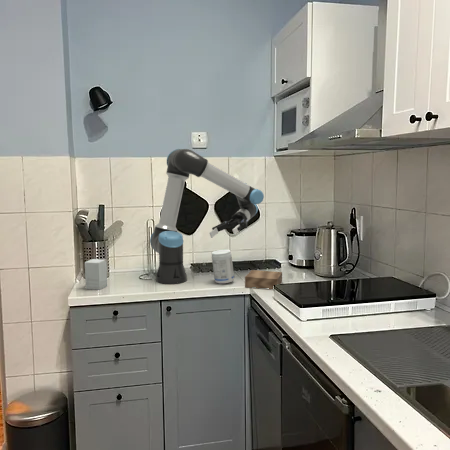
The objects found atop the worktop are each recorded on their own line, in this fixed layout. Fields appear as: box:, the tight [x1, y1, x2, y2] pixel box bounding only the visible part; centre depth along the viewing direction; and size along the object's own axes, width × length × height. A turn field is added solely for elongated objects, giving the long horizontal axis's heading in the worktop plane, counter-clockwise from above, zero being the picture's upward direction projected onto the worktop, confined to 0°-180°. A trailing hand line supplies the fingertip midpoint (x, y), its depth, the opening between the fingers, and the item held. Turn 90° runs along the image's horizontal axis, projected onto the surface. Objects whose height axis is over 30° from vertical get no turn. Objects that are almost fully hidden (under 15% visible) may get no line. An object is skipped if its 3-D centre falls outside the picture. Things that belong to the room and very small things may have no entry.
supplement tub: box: [211, 249, 235, 284], centre depth 224 cm, size 10×10×15 cm
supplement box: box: [84, 258, 108, 291], centre depth 214 cm, size 7×7×13 cm
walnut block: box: [244, 269, 283, 290], centre depth 221 cm, size 15×14×5 cm
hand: (222, 233), depth 230 cm, fingers open, 13 cm apart
